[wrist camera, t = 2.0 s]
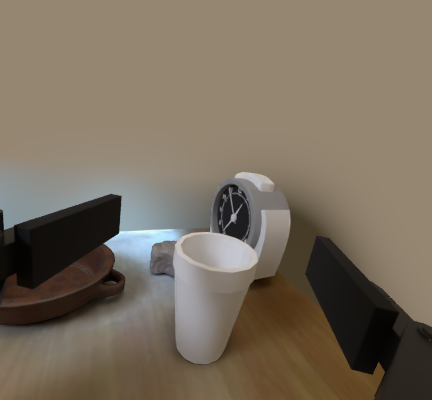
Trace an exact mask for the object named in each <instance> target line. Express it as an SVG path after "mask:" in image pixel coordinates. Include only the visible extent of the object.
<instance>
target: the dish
mask: <svg viewBox="0 0 432 400" xmlns="http://www.w3.org/2000/svg"><path fill="white" fill-rule="evenodd" d="M114 262H115V257H114V253H113V252H112V250H111V249H110V248H109V247H107V246H106V245H104V244H102V245H100V246H99V247H97V248H96V249H94V250H93V251H91V252H90V253H88V254H86V255H85V256H83V257H82V258H80V259H79V260H77V261H76V262H74V263H73V264H71V265H70V266H68V267H67V268H65V269H64V270H62V271H61V272H59V273H57V274H56V275H54V276H53V277H51V278H50V279H48V280H47V281H45V282H44V283H42V284H41V285H39V286H38V287H36V288H35V289H29V288H25V287H21V286H17V280H16V273H15V274H13V275H11V276H9V277H8V278H7V288H6V291H5V294H4V297H3V300H2V302H1V305H0V324H27V323H33V322H38V321H42V320H47V319H50V318H54V317H57V316H60V315H63V314H66V313H68V312H70V311H72V310H74V309H76V308H78V307H80V306H82V305H84V304H85V303H87V302H88V301H90V300H91V299H93V298H102V297H110V296H114V295H117V294H119V293H121V292H122V291H123V289H124V285H125V277H124V275H123V274H121V273H120V272H118V271H116V270H114V269H112V268H113V267H114V266H113V265H114ZM107 281H114V282H116V284H111V285H109V284H105V283H104V282H107Z"/></svg>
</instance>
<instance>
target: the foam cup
mask: <svg viewBox="0 0 432 400" xmlns="http://www.w3.org/2000/svg"><path fill="white" fill-rule="evenodd" d="M257 263H258V260H257V253H256V252H255V251H254V250H253V249H252V248H251V247H250V246H249V245H248V244H246V243H244V242H242V241H241V240H239V239H237V238H234V237H230V236H227V235H224V234H218V233H210V232H200V233H191V234H188V235H185V236H183V237H180V239H179V240H178V241H177V243H176V244H175V250H174V257H173V266H174V270H175V336H176V345H177V350H178V351H179V352H180V354H181V355H182V356H183V358H184V359H186V360H188V361H190V362H192V363H194V364H209V363H212V362H214V361H216V360H218V359H219V357H220V356H221V355H222V353H223V352H224V349H225V348H226V345H227V342H228V340H229V337H230V335H231V332H232V329H233V327H234V324H235V322H236V319H237V317H238V314H239V311H240V309H241V306H242V304H243V301H244V299H245V296H246V293H247V291H248V288H249V286H250V284H251V283H252V282H253V280H254V276H255V271H256V267H257Z"/></svg>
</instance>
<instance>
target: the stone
mask: <svg viewBox="0 0 432 400" xmlns="http://www.w3.org/2000/svg"><path fill="white" fill-rule="evenodd" d="M176 243H177V241H164V242H162V243H156V244H154V245H153V246H152V251H151V261H150V268H151V271H152V273H154V274H158V273H167V274H169V275H171V276H173V277H175V270H174V266H173V257H174V250H175V244H176Z"/></svg>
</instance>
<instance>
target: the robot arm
mask: <svg viewBox="0 0 432 400" xmlns="http://www.w3.org/2000/svg"><path fill="white" fill-rule="evenodd" d="M121 197H122V196H118V195H113V194H110V195H106V196H103V197H100V198H97V199H94V200H91V201H88V202H85V203H82V204H79V205H75V206H73V207H69V208H66V209H63V210H60V211H57V212H54V213H51V214H48V215H45V216H42V217H39V218H35V219H32V220H29V221H26V222H23V223H20V224H17V225H14V227H12V228H9V229H6V230H4V224H3V211H2V210H0V305H1V302H2V300H3V297H4V294H5V291H6V288H7V278H8V277H9V276H11V275H13V274H15V273H16V280H17V286H21V287H25V288H29V289H35V288H36V287H38V286H39V285H41V284H42V283H44V282H45V281H47V280H48V279H50V278H51V277H53V276H54V275H56V274H57V273H59V272H61V271H62V270H64V269H65V268H67V267H68V266H70V265H71V264H73V263H74V262H76V261H77V260H79V259H80V258H82V257H83V256H85V255H86V254H88V253H90V252H91V251H93V250H94V249H96V248H97V247H99V246H100V245H102V244H103V243H105V242H106V241H108V240H109V239H111V238H112V237H114V236H116V235H117V234H119V226H120V211H121ZM305 274H306V276H307V278H308V281H309V283H310V285H311V287H312V289H313V291H314V293H315V295H316V297H317V299H318V301H319V303H320V306H321V308H322V310H323V312H324V314H325V316H326V318H327V320H328V322H329V324H330V326H331V328H332V330H333V332H334V335H335V337H336V339H337V341H338V343H339V345H340V347H341V349H342V351H343V353H344V355H345V357H346V359H347V361H348V364H349V366H350V368H351V369H352V370H356V371H360V372H364V373H368V374H372V375H373V373H374V370H375V368H376V366H377V363H378V361H379V363H380V364H381V366H382V368H383V369H384V371H385V374H384V376H383V378H382V380H381V383H380V385H379V387H378V389H377V392H376V394H375V399H374V400H432V327H430V326H428V325H426V324H424V323H420V322H416V321H413V320H412V319H411V318H410V317H409V316H408V314H406V313H405V312H404V310H403V309H402V308H401V307H399V306H398V304H396V302H395V301H394V300H393V299H392V298H390V296H389V295H388V294H387V293H386V292H385V291H384V290H383V289H382V288H380V287H379V286H377V285H376V284H374V283H373V282H371V281H369V280H368V279H367V278H366V277H365V276H364V274H363V273H362V272H361V271H360V270H359V269H358V268H357V267H356V266H355V265H354V264H353V263H352V262H351V261H350V260H349V259H348V258H347V257H346V255H345V254H344V253H343V252H342V251H341V250H340V249H339V248H338V247H337V246H336V245H335V244H334V243H333V242H332V241H331V240H330V239H329V238H326V237H321V236H316V239H315V243H314V246H313V250H312V253H311V256H310V260H309V263H308V266H307V270H306V273H305Z"/></svg>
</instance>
